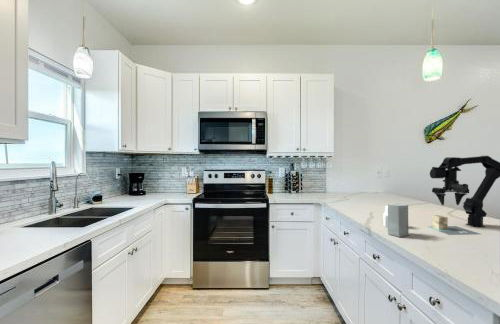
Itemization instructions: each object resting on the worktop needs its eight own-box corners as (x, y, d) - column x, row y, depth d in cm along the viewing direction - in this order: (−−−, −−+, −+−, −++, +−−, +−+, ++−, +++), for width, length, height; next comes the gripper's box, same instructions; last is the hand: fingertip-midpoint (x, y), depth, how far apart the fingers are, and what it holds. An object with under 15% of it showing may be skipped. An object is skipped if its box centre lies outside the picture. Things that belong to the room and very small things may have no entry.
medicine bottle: (396, 225, 157) (396, 205, 157) (399, 228, 150) (399, 207, 150) (383, 224, 159) (383, 204, 159) (385, 227, 153) (385, 206, 152)
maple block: (440, 227, 152) (440, 215, 152) (447, 229, 147) (447, 217, 147) (432, 227, 152) (432, 215, 152) (438, 230, 147) (438, 217, 147)
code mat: (455, 226, 155) (455, 226, 155) (482, 234, 139) (482, 234, 139) (426, 226, 154) (426, 226, 154) (449, 235, 138) (449, 234, 138)
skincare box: (399, 237, 133) (399, 206, 133) (386, 234, 140) (386, 203, 139) (409, 235, 137) (409, 204, 137) (396, 231, 144) (396, 202, 143)
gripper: (446, 179, 148) (445, 207, 148) (478, 179, 149) (477, 207, 149) (431, 178, 159) (431, 204, 159) (461, 178, 160) (460, 203, 160)
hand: (450, 205), depth 157 cm, fingers open, 9 cm apart
